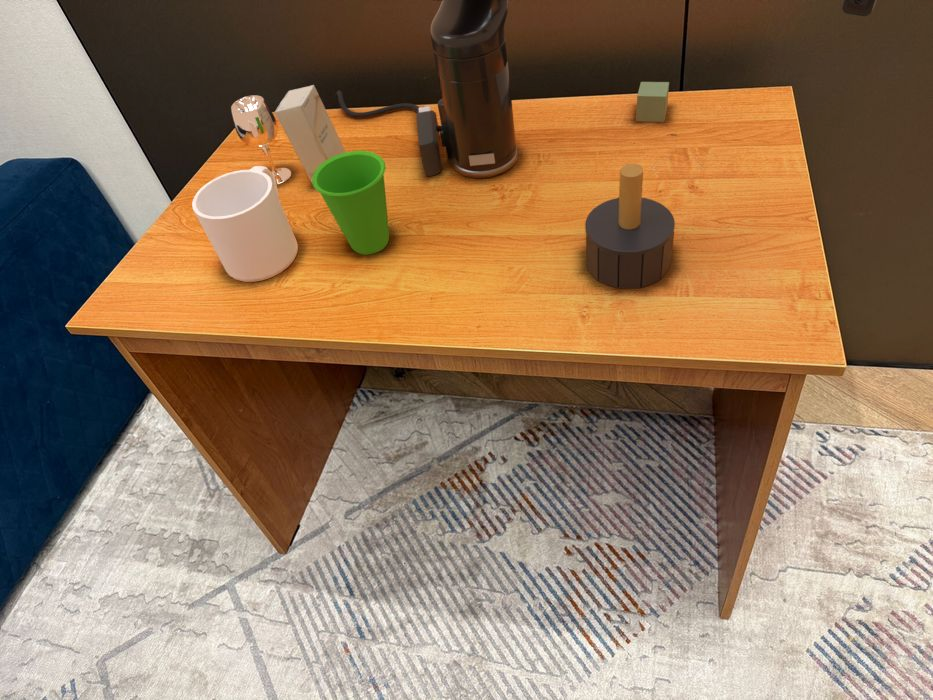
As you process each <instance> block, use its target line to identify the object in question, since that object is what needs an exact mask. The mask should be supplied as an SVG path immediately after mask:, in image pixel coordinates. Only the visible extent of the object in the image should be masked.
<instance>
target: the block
mask: <svg viewBox="0 0 933 700" xmlns="http://www.w3.org/2000/svg"><path fill="white" fill-rule="evenodd" d="M669 91H670V82H669V81H640V84H639V88H638V92H637V95H636V114H635V115H636V117H635V121H636V122H649V123H650V122H652V123H653V122H655V123H656V122H657V123H665V121H666V115H667V111H668V104H669Z"/></svg>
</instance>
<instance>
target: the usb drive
mask: <svg viewBox="0 0 933 700" xmlns="http://www.w3.org/2000/svg"><path fill="white" fill-rule="evenodd" d="M416 126H417V127H416V128H417V136H418V137H417V138H418V147H419V152H420V156H421V161H422V167H423V172H424V175H425V177H427V178H428V177H433V176H437V175H439V174H440V171H441V170H442V159H441V158H442V157H441V150H440V149H441V148H440V140H439V138H440V137H439V136H440V131H437V128H436V126H439V123H438V117H437V112H436V111H434V110H432V109H431V106H430V105H426V106H422V107H420V108H419V113H417V112H416Z"/></svg>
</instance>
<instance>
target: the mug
mask: <svg viewBox="0 0 933 700" xmlns="http://www.w3.org/2000/svg"><path fill="white" fill-rule="evenodd" d="M270 171H271V170H270V169H269V168H268V167H266V166H264V165H254V166H252V167H251V168H250V169H240V170H234V171H230V172H227V173H224V174H222V175H219V176H217V177H215V178H213V179H211V180H210V181H209V182H207V183H205V184H204V185H203V186H201V188H200V189H198V191H197V192H196V194H195V195H194V196H193V199H192V203H191V205H192V210H193V212H194V214H195V216H196V218H197V220H198V221H199V223H200V225H201V227H202V229H203V231H204V233H205V235H206V237H207V239H208V240H209V242H210V244H211V247H212V248H213V250H214V251H215V254H216V255H217V257H218V259H219V261H220V263H221V265H222V267H223V269H224V270H225V272H226V273H227V274H228V276H229V277H231V278H232V279H234V280H236V281H241V282H245V283H254V282H259V281H260V282H261V281H266V280H268V279H270V278H273V277H275V276H277V275H279V274H280V273H282V272H283V271H285V270H286V269H287V268H289V267H290V265H291V264H293V262H294V261H295V260H296V259H295V258H296V257H297V254H298V251H299V244H298V241H297V239H296V236H295V234H294V231H293V228H292V227H291V224H290V221H289V219H288V216H287V215H286V212H285V210H284V207H283V204H282V202H281V197H280V193H279V189H278V185H276V182H275V179H274V177H273V175H272V173H271V172H270Z"/></svg>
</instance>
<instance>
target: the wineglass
mask: <svg viewBox="0 0 933 700" xmlns="http://www.w3.org/2000/svg"><path fill="white" fill-rule="evenodd" d="M230 111H231V117H232V122H233V126H234V129H235V131H236V134H237V136H238V137H239V139H240V140H241V142H242V143H243V144H245V145H246V146H248V147H250V148H257V149H258V148H261V149H262V153H263V155H264V156H265V157H266V158H267V160H268V162H269V165H270V167H271V170H270V172H271V173H272V175H273V177H274V179H275V182H276V185H277V186H278V185H281V184H284V183H286V182H287V181H288V180H289V179H290V178H291V176H292V171H291V169H290V168H287V167H276V166H275V165H274V161H273V159H272V154H271V150H270V148H269V147H270V146H269V145H270V144H272V143H273V142H274V141H275V140H276V138H277V136H278V132H279V126H278V122H277V119H276V117H275V115H274V113H273V111H272V109H271V108H270V106H269V105H268V103H267V101H266V100H265V99H264V97H263V96H260V95H257V94H256V95H254V94H253V95H247V96H244V97H240V98H239V99H237V100H236V101H234V102H233V103H232V105H231V106H230Z"/></svg>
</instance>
